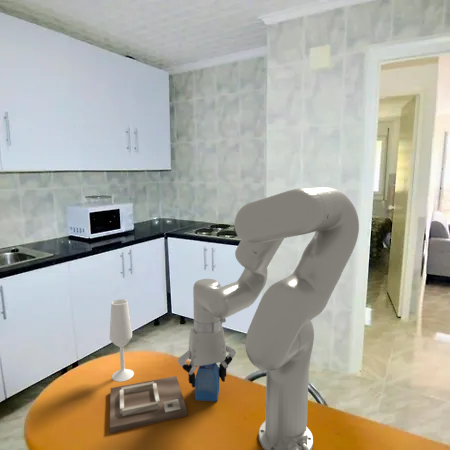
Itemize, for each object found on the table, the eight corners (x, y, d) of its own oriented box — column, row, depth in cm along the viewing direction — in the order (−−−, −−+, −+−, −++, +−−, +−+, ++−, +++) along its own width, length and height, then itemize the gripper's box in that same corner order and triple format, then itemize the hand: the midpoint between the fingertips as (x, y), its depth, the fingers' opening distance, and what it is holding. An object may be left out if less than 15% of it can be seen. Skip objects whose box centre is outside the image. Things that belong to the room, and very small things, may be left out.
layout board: (187, 415, 86) (187, 405, 86) (110, 433, 80) (109, 421, 80) (176, 380, 101) (176, 371, 101) (110, 392, 95) (110, 383, 95)
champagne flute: (137, 369, 107) (134, 298, 103) (128, 382, 100) (125, 306, 97) (117, 368, 108) (114, 297, 104) (107, 380, 101) (103, 305, 98)
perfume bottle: (219, 387, 98) (219, 349, 96) (217, 401, 92) (217, 360, 90) (198, 386, 98) (198, 348, 97) (195, 400, 92) (194, 359, 91)
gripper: (232, 314, 98) (232, 369, 101) (173, 322, 93) (175, 380, 95) (241, 325, 91) (240, 383, 94) (178, 334, 86) (179, 396, 88)
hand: (207, 381), depth 95 cm, fingers closed on perfume bottle, 8 cm apart
